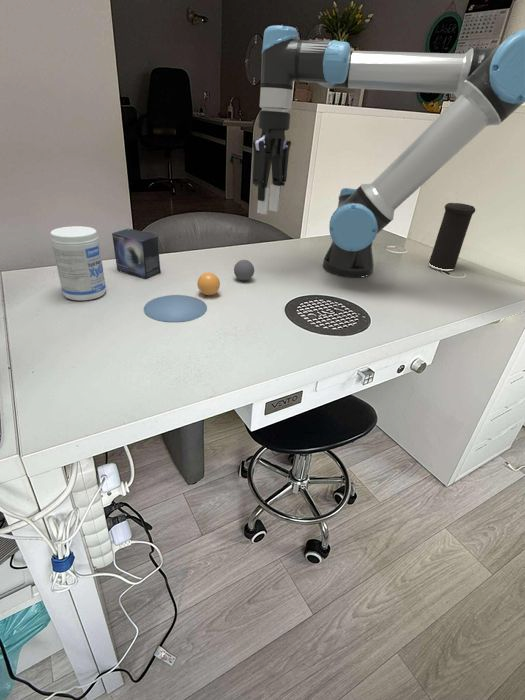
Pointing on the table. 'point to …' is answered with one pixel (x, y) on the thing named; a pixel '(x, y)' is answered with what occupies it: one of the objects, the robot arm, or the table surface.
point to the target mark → (175, 308)
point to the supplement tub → (78, 262)
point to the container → (451, 235)
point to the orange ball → (208, 283)
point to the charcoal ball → (244, 270)
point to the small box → (136, 253)
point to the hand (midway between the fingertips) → (267, 211)
